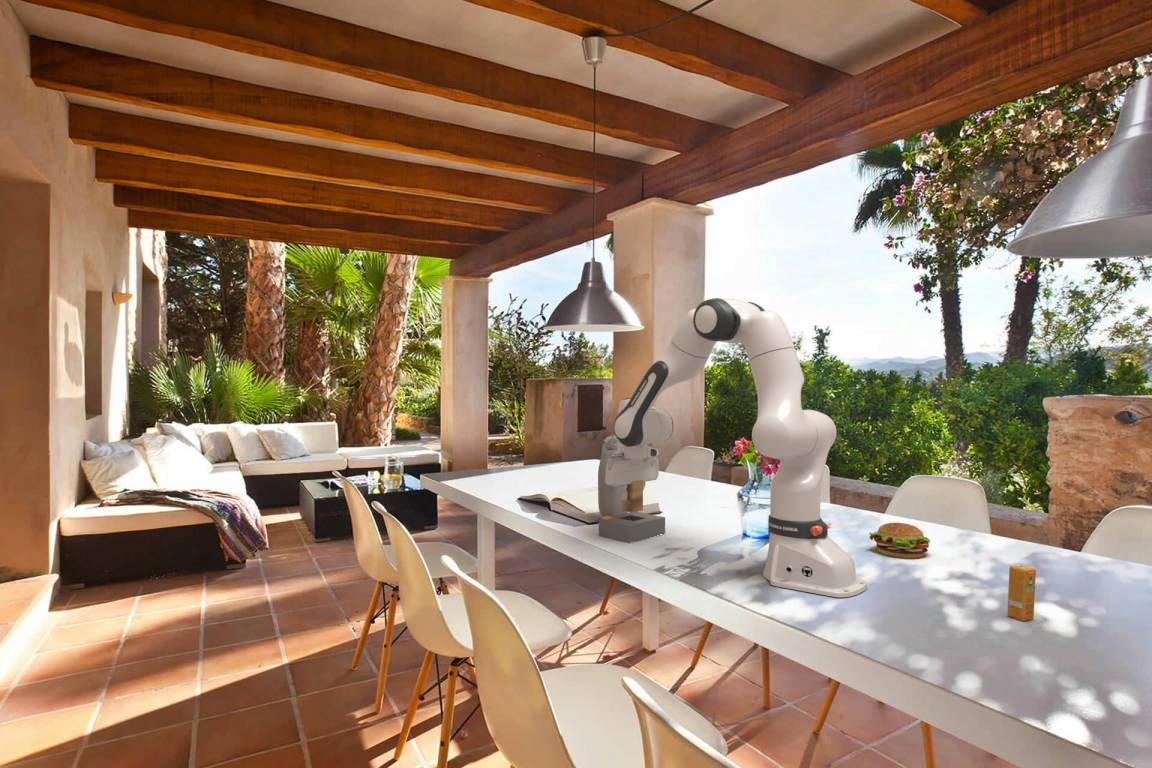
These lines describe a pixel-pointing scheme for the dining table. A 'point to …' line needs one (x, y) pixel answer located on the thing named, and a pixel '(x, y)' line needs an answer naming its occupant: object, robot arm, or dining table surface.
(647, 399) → the robot arm
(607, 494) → the gray bottle
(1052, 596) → the dining table surface
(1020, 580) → the supplement box
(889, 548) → the food
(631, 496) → the oak peg
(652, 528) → the socket block
